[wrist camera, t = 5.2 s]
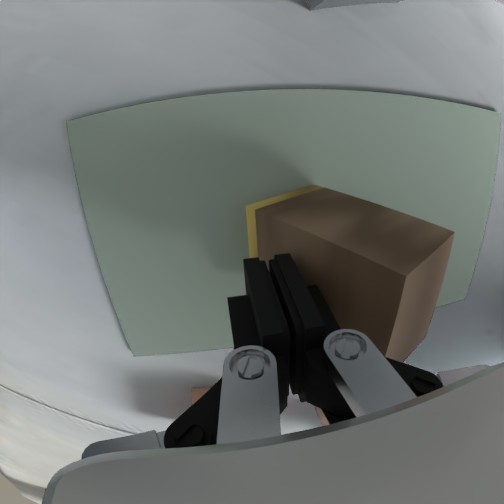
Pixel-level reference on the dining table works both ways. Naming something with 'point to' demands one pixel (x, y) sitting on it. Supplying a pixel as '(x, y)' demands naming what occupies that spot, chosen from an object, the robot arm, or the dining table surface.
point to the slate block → (341, 3)
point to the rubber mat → (262, 190)
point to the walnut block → (358, 260)
